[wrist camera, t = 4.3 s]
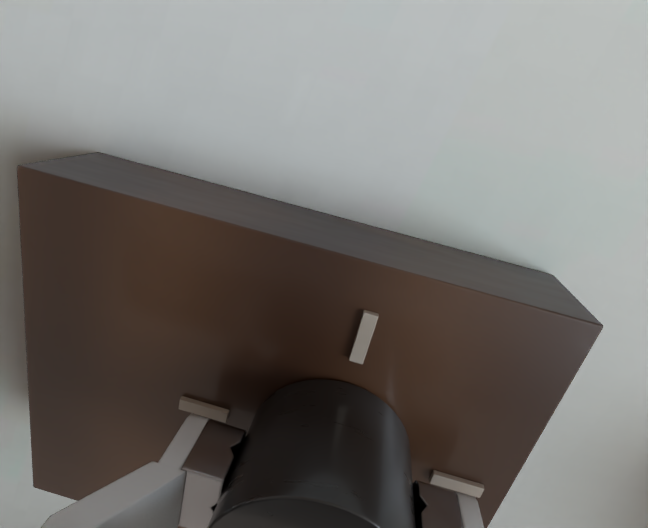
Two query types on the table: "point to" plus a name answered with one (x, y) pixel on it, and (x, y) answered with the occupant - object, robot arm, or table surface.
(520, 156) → the table surface
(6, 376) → the table surface
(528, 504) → the table surface
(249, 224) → the dial panel
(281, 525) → the dial knob
